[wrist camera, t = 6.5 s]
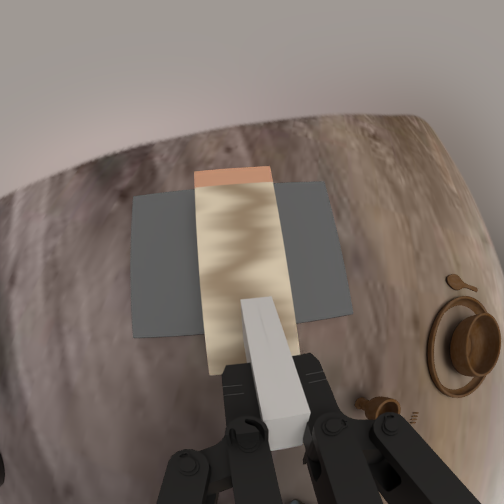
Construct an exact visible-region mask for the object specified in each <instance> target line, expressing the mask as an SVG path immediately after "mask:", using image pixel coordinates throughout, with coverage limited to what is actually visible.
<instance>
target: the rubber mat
mask: <svg viewBox="0 0 504 504" xmlns="http://www.w3.org/2000/svg"><path fill="white" fill-rule="evenodd" d="M273 185H274V191H275V196H276V202H277V208H278V213H279V219H280V225H281V231H282V236H283V242H284V248H285V255H286V261H287V267H288V273H289V280H290V286H291V293H292V299H293V306H294V313H295V320H296V324H297V323H304V322H310V321H316V320H323V319H329V318H334V317H340V316H346V315H351V314H353V309H352V303H351V297H350V292H349V286H348V281H347V276H346V271H345V266H344V261H343V256H342V252H341V247H340V243H339V238H338V234H337V230H336V225H335V221H334V217H333V213H332V209H331V205H330V201H329V197H328V194H327V190H326V186H325V183H324V182H291V183H273ZM131 311H132V329H133V338H150V337H170V336H186V335H200V334H205V332H204V322H203V311H202V300H201V289H200V276H199V262H198V246H197V229H196V207H195V189H191V190H182V191H173V192H164V193H156V194H148V195H140V196H133V208H132V226H131Z"/></svg>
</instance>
